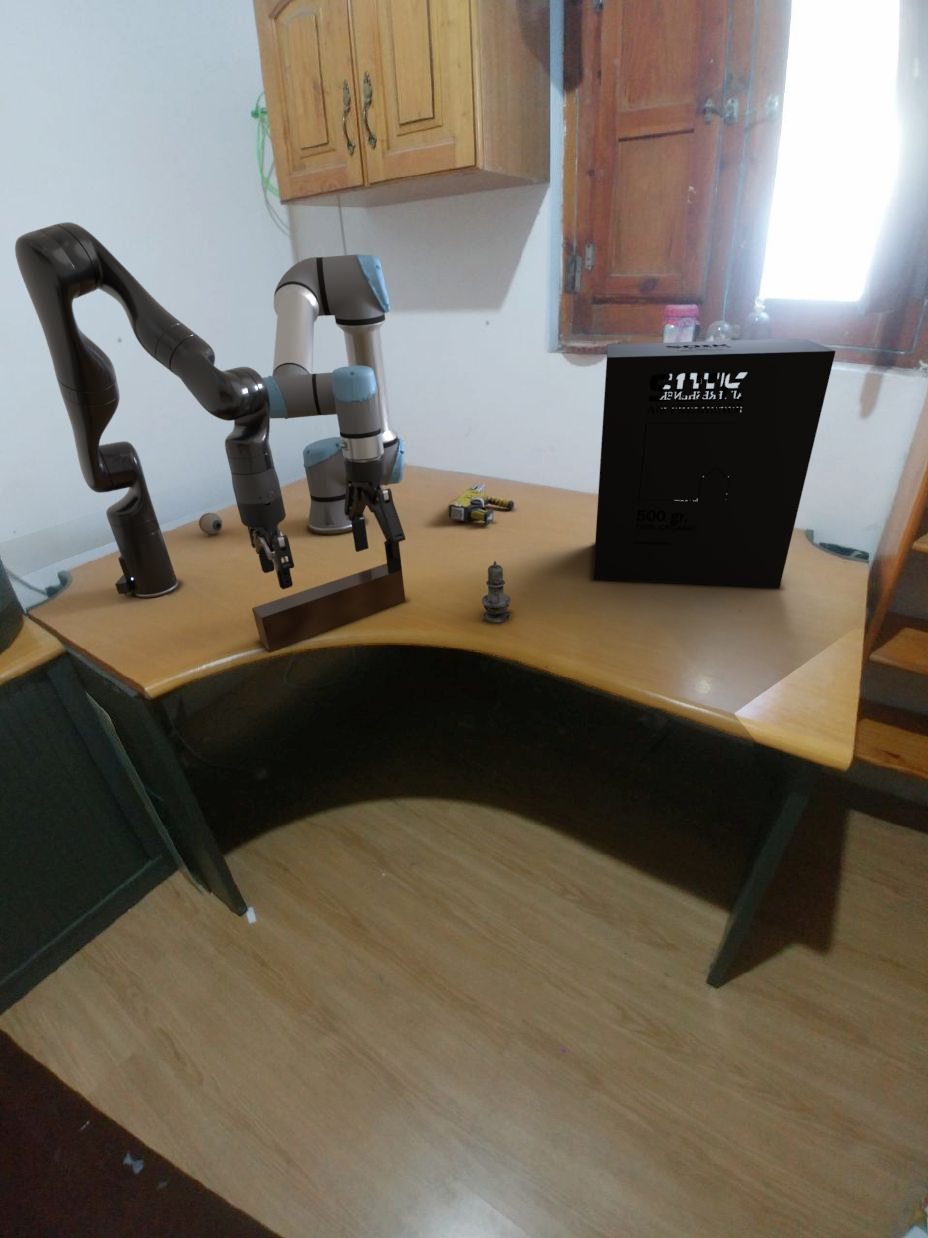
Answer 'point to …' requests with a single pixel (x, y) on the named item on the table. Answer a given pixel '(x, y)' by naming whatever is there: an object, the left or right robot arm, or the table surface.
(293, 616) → the plank
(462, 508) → the toy gun
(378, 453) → the right robot arm
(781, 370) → the cardboard box
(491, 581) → the grey tall turned piece
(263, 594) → the table surface
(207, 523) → the eyeball
